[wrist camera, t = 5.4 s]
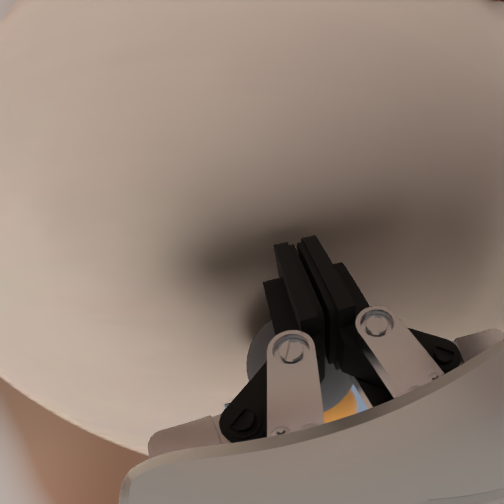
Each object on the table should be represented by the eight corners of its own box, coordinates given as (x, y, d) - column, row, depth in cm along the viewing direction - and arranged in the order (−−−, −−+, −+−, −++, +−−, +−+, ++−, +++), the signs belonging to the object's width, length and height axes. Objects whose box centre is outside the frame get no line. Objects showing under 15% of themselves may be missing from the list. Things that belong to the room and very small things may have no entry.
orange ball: (345, 350, 17) (372, 418, 13) (342, 384, 20) (362, 440, 16) (267, 372, 17) (281, 445, 13) (279, 402, 21) (291, 460, 16)
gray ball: (382, 411, 9) (344, 398, 14) (365, 289, 11) (333, 312, 16) (250, 436, 9) (253, 412, 14) (237, 305, 11) (244, 323, 16)
